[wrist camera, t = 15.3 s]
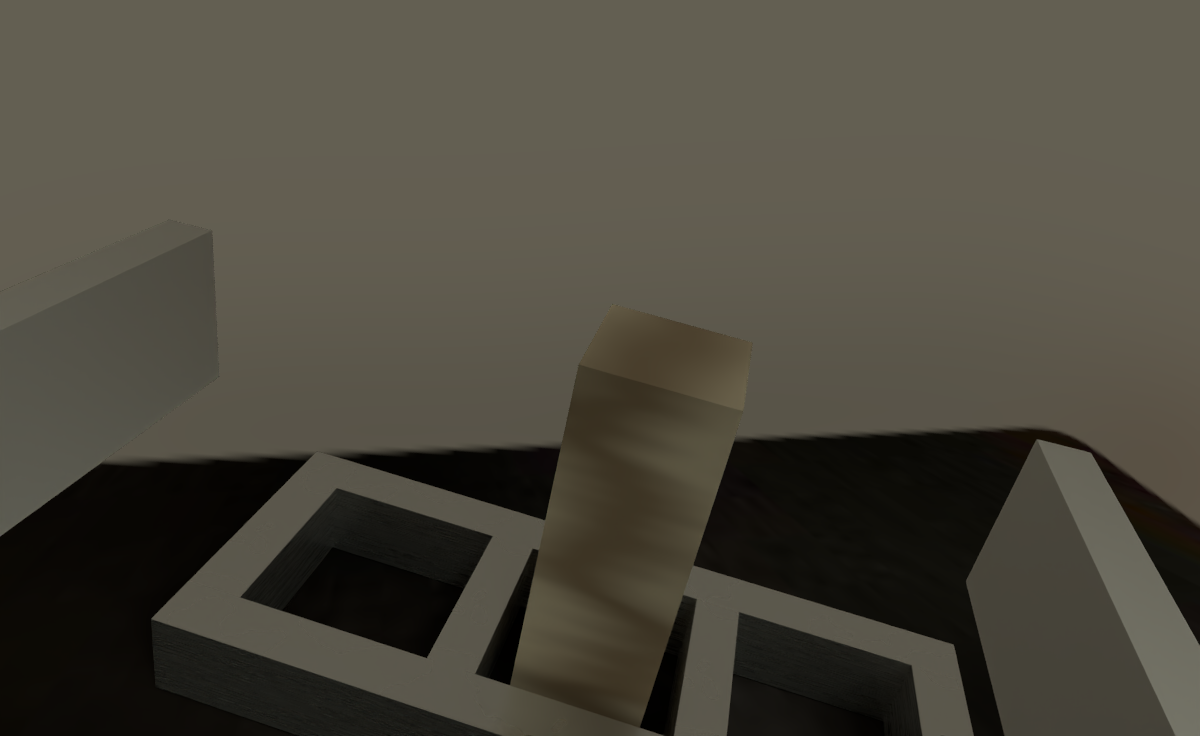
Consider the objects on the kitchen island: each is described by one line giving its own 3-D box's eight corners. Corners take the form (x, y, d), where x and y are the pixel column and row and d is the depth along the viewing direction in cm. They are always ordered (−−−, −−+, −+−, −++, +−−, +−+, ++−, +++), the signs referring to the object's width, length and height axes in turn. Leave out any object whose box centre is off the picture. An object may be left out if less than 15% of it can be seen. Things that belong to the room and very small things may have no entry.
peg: (648, 668, 32) (752, 342, 26) (627, 765, 28) (743, 411, 22) (537, 632, 32) (612, 303, 26) (501, 724, 29) (578, 364, 22)
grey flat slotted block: (923, 699, 33) (953, 644, 32) (966, 963, 25) (1010, 905, 23) (314, 509, 36) (317, 451, 35) (155, 686, 27) (150, 618, 26)
